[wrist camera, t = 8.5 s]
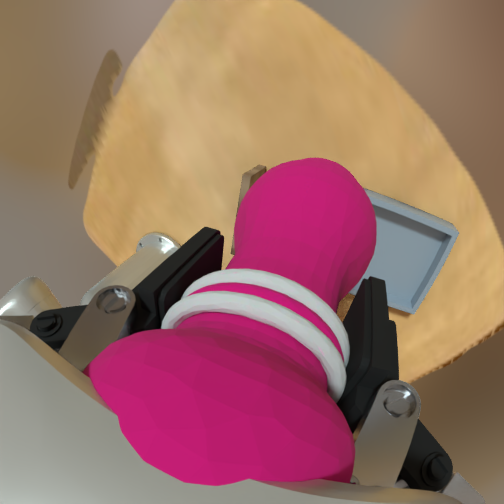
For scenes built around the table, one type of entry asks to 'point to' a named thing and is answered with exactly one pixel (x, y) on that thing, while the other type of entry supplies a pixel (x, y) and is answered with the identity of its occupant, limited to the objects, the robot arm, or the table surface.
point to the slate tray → (407, 251)
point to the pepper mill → (254, 343)
